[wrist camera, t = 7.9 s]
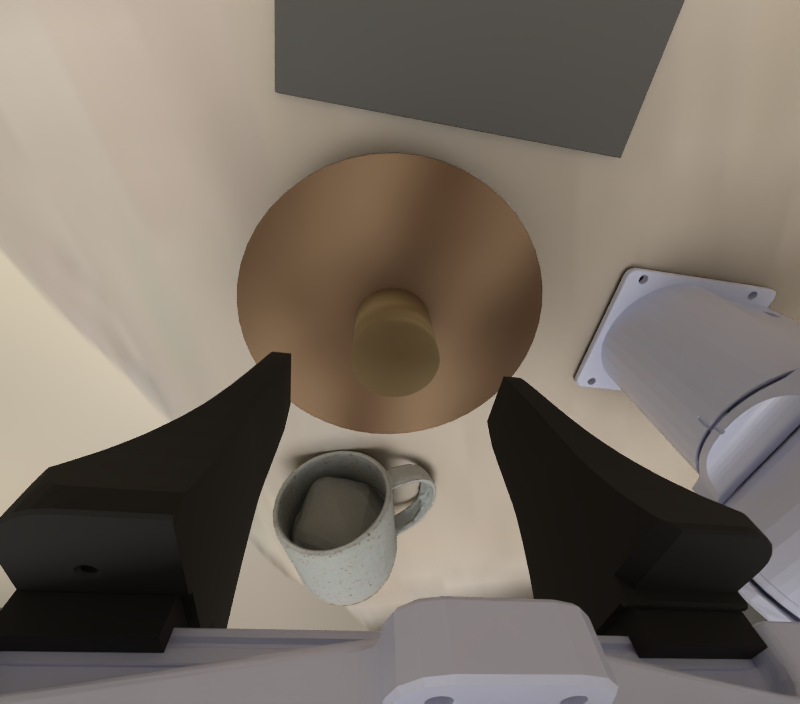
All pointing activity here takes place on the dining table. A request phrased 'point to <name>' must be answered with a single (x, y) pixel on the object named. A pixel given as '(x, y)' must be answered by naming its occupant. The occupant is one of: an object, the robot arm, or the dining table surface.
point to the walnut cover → (391, 292)
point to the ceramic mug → (346, 522)
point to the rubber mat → (481, 62)
